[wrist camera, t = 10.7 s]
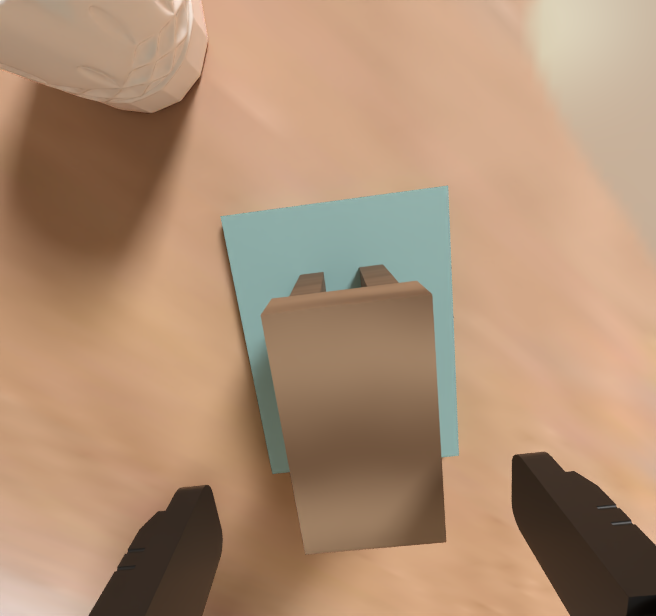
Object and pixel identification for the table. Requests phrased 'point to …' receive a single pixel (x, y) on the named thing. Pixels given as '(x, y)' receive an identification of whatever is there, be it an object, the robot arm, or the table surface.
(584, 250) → the table surface
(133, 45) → the white cup
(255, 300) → the board
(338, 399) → the tan slab with prongs
